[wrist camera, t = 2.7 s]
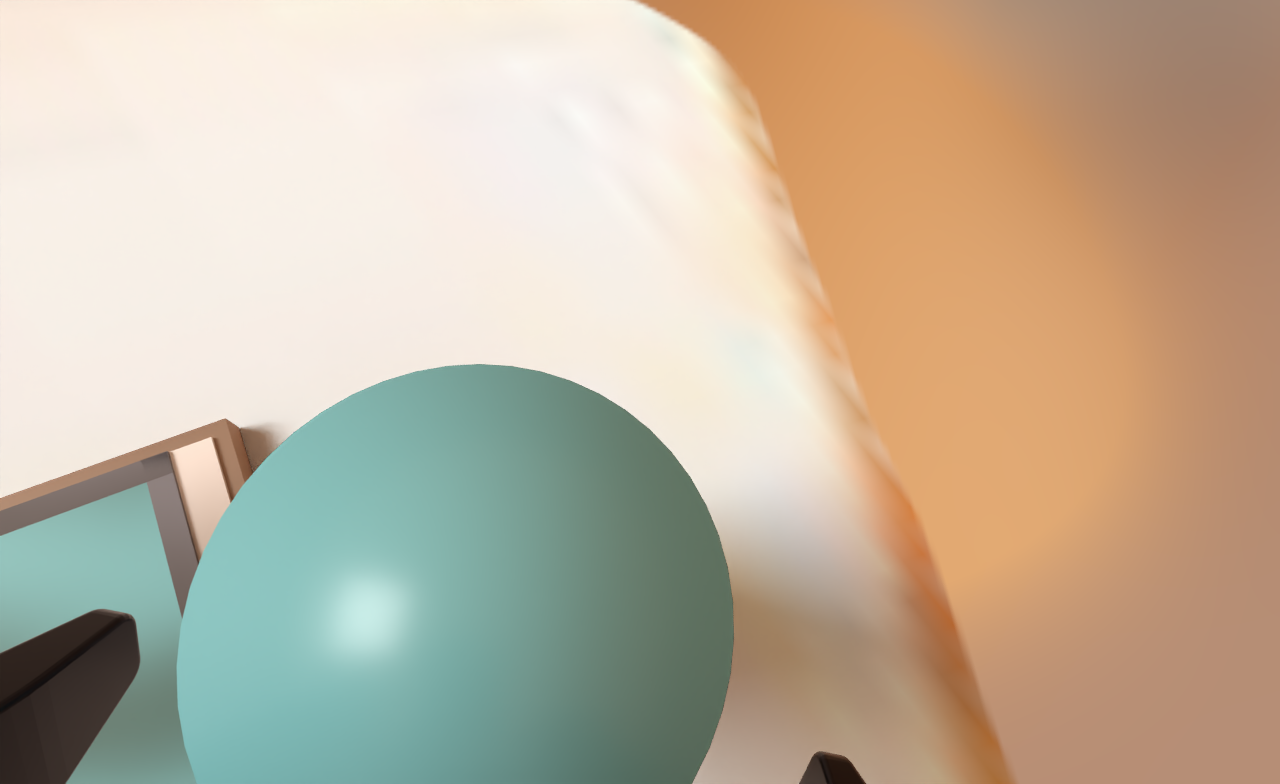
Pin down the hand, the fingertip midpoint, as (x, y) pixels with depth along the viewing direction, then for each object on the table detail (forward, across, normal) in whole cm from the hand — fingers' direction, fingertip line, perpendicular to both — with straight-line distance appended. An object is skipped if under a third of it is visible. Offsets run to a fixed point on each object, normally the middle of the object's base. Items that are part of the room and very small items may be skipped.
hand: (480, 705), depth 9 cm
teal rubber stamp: (+7, 0, +6) cm, 9 cm away
